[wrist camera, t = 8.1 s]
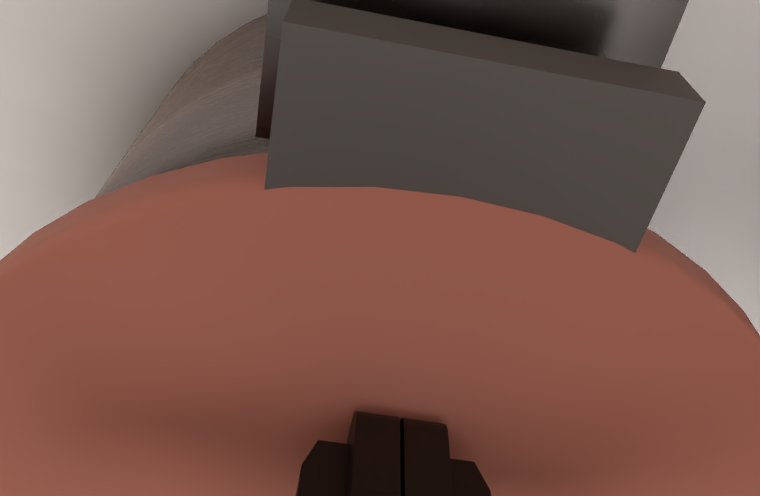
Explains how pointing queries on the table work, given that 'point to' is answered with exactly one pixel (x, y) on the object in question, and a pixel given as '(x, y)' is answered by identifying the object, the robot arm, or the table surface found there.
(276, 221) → the lid
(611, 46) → the cooker pot
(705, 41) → the table surface
